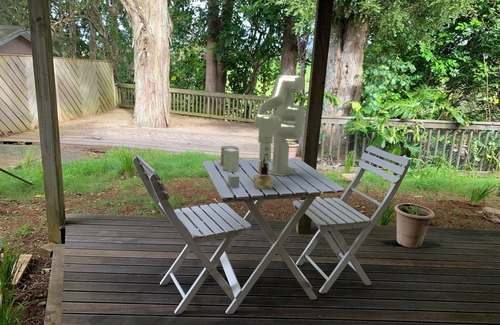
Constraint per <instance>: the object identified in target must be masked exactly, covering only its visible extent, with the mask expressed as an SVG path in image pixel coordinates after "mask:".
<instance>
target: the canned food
mask: <svg viewBox="0 0 500 325" xmlns="http://www.w3.org/2000/svg"><path fill="white" fill-rule="evenodd" d="M220 149H221V150H220V151H221V154H220V166H221V167H223V159H224V149H235V150H238V151H239V146H236V145H235V146H233V145H222V146H221V147H220Z"/></svg>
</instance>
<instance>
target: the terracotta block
mask: <svg viewBox="0 0 500 325" xmlns="http://www.w3.org/2000/svg"><path fill="white" fill-rule="evenodd" d="M258 163H259V164H258V175H261V168H262V162H261V161H259V162H258ZM269 166H270V164H269V163H268V171H267V175H269V169H270V168H269Z"/></svg>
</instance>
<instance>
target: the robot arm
mask: <svg viewBox="0 0 500 325" xmlns="http://www.w3.org/2000/svg"><path fill="white" fill-rule="evenodd" d="M305 85H306V78H305V77H304V75H302V74H301V75H299V74H279V75H278V76H276V79H275V81H274V83H273V87H272V89H271V94H270V97H269V98H268V99H267V100H265V101H264V102H263V103H262V104H261V105H259V107H258V109H257V113H256V116H255V118H254V119H255V121H254V124H255V126H256V127H257V128H258V137H257V138H258V140H257V141H258V143H259V153H258V154H259V157H258V159H259V160H260V162H262V168H261V175H267V171H268V174H270V175H273V176H279V177H280V176H281V177H283V176H285V177H286V176H288V175H290V174H291V172H295V171H296V167H289V156H290V155H289V154H290V145H289V142H288V141H287V140H296V141H298V140H300V139H301V137H302V134H303V129H304V120H305V109H304V107H303V106H300V105H294V104H295V103H294V102H295V96H294V94H295V93H300V92H301V91H302V90H303V89H305ZM293 93H294V94H293ZM275 108H278V111H277V115H275V114H266V113H267V112H268V111H270V110H273V109H275ZM283 121H285V122H283ZM286 121H287V122H286ZM289 122H294V123H289ZM272 144H273V147H272ZM272 148H273V149H272ZM272 150H273V151H272ZM271 161H272V165H271V167H272V168H271V169H270V170H269V169H268V164H269V163H271Z"/></svg>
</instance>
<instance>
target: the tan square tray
mask: <svg viewBox="0 0 500 325" xmlns="http://www.w3.org/2000/svg"><path fill="white" fill-rule="evenodd" d="M273 185H274V179H273V178H272V176H271V174H270V175H269V174H268V175H260V174H254V175H253V186H254V188H255V189H257V190H258V189H260V190H266V189H267V190H272V189H273Z"/></svg>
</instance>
